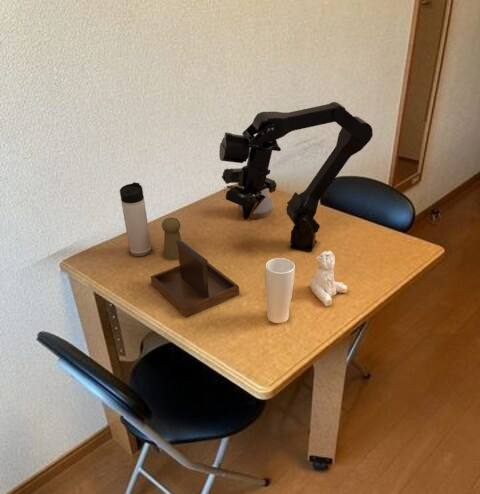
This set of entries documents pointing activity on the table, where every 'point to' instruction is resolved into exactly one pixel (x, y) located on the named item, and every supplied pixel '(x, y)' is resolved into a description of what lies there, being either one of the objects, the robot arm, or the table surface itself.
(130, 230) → the travel mug
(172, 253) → the olive game pawn
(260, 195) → the robot arm
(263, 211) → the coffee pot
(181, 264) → the tray
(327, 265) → the sitting furry creature
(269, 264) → the drinking glass
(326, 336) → the table surface
